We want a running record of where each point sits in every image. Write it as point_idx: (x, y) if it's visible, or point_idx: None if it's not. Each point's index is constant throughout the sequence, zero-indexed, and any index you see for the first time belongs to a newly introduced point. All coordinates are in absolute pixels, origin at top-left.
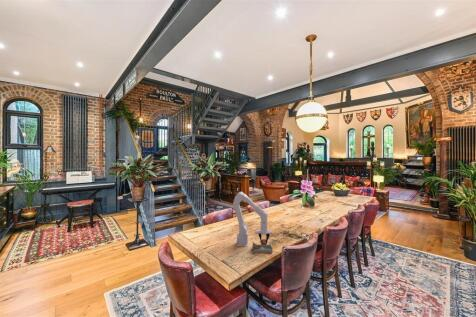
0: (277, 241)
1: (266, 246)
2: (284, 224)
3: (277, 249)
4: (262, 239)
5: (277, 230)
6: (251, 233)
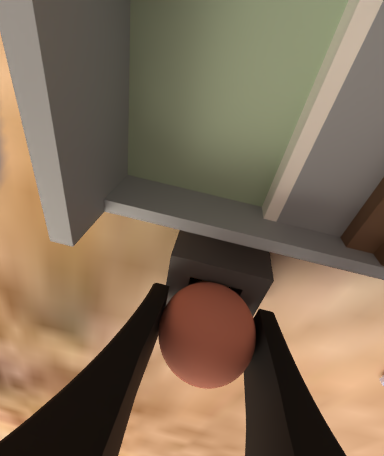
0: (30, 305)
1: (194, 205)
2: (9, 421)
3: (2, 106)
4: (233, 379)
5: (43, 403)
6: (240, 435)
